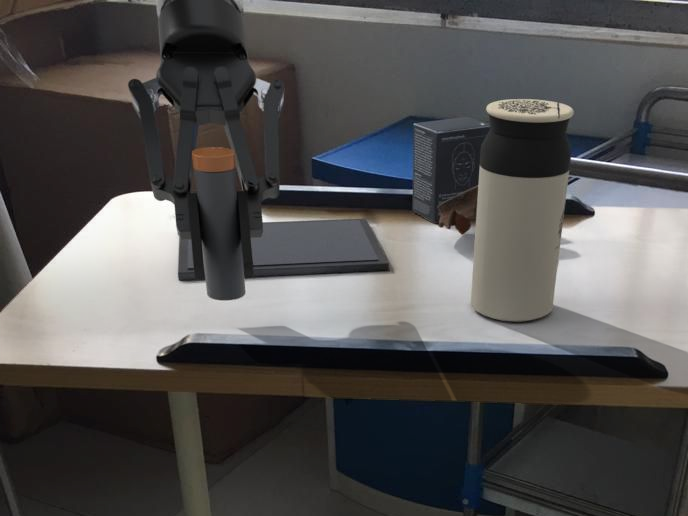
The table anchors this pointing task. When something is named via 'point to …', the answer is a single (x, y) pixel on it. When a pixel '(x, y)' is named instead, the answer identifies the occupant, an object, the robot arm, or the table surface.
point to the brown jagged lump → (459, 210)
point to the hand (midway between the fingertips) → (224, 271)
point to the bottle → (219, 222)
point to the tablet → (305, 249)
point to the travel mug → (520, 209)
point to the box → (445, 161)
